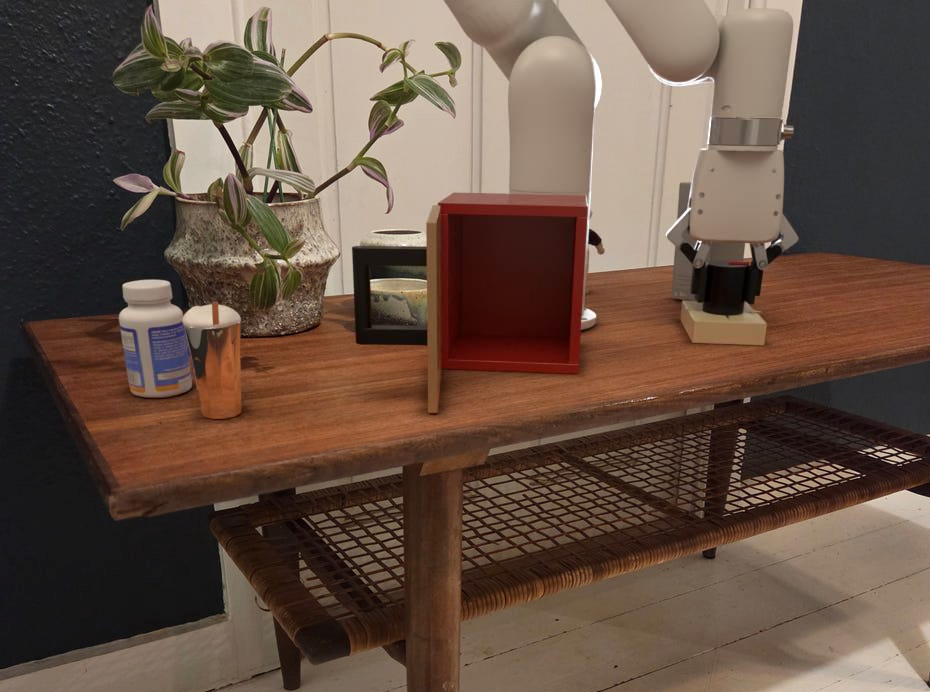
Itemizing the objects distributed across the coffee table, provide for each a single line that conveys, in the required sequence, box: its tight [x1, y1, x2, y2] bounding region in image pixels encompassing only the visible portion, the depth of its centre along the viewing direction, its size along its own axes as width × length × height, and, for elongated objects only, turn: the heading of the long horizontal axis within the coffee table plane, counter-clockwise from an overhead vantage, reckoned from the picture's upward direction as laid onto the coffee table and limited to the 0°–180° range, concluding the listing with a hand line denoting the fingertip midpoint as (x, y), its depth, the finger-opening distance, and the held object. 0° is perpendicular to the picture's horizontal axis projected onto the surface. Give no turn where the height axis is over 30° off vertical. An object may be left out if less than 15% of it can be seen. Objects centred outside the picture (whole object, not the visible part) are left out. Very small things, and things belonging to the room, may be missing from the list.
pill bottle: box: [118, 279, 193, 399], centre depth 79 cm, size 5×5×10 cm
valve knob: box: [702, 260, 750, 315], centre depth 103 cm, size 5×5×6 cm
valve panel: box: [680, 300, 768, 346], centre depth 105 cm, size 12×9×3 cm
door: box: [351, 204, 443, 414], centre depth 78 cm, size 7×14×16 cm, turn 1°
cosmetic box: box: [670, 181, 746, 301], centre depth 121 cm, size 8×7×16 cm
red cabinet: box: [437, 192, 588, 375], centre depth 90 cm, size 12×14×16 cm
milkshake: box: [182, 301, 242, 420], centre depth 72 cm, size 4×5×10 cm
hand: (724, 299), depth 104 cm, fingers open, 5 cm apart
